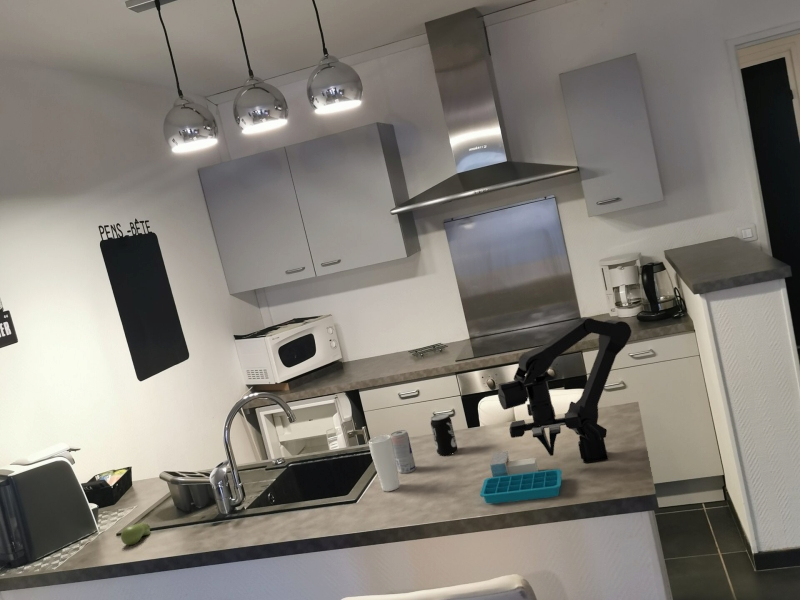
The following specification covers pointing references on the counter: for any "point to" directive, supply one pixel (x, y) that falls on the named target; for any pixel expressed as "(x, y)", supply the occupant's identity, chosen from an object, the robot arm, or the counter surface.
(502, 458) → the gray rectangular block
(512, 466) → the tan-tipped white bar
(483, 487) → the ice cube tray
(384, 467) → the drinking glass
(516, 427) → the robot arm
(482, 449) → the counter surface
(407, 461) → the energy drink
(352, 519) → the counter surface
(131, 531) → the pear
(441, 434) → the beverage can
